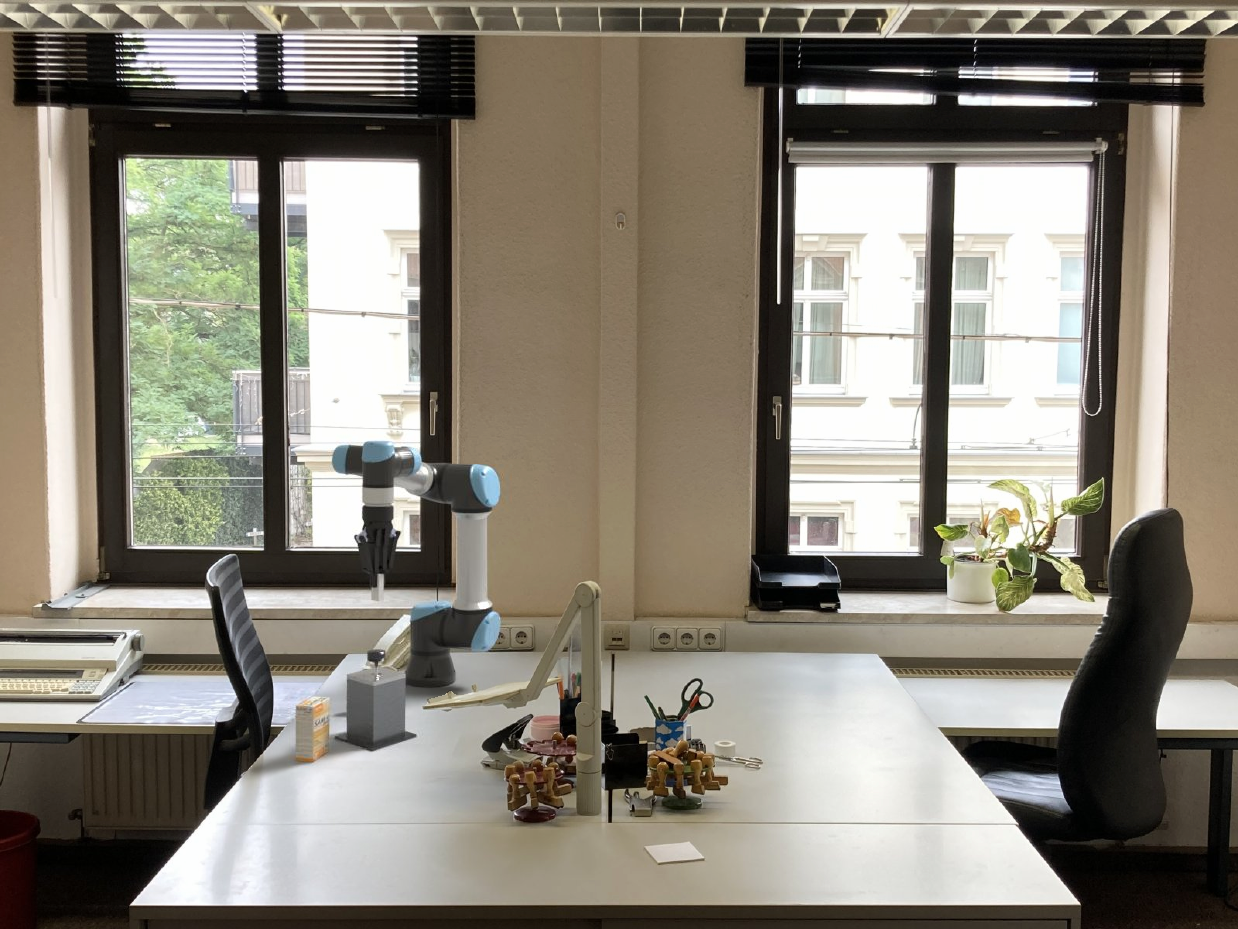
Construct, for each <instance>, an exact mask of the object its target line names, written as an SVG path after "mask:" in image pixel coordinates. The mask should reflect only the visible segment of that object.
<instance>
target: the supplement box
mask: <svg viewBox="0 0 1238 929" xmlns="http://www.w3.org/2000/svg"><path fill="white" fill-rule="evenodd" d="M330 701H331V700H330V697H324V696H311V697H309V698H307V699H305V700H304V701H302V702H300V703H298V704H296V705H295V755H294V756H295V759H294V760H295V761H297V762H298V761H299V762H309V763H313V762H315V761H316V760H317V759H319V758H320V757H322V756H323V755H325V754H326V753H328V752H330V706H331V705H330V704H331V702H330Z"/></svg>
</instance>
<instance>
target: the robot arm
mask: <svg viewBox="0 0 1238 929" xmlns="http://www.w3.org/2000/svg"><path fill="white" fill-rule="evenodd" d="M331 456H332V457H331V464H332V465H331V466H332V467H333V468H332V469H334V471H335V472H336V473H338V474H342V475H346V476H348V475H353V476H358V477H361V478H362V483H361V486H362V487H361V491H362V492H361V495H362V496H361V499H362V500H361V502H362V504H363V505H362V507H361V519H362V521H363V526H362V528H361V529H362V530H361V531H360V533H358V534H354V536H353V539H354V541H355V542H356V544H357V548H358V554H359V559H360V564H361V569H362V572H363V573H366V574H369V587H370V588H371V597H370V598H371V601H375V602H383V601H384V593H385V592H384V589H385V588H384V587H385V586H386V575H387V574H389V573H390V571H391V570H393V567H394V561H395V555H396V552H397V544H398V541H399V538H400V537H401V533H402V532H401V531H400V530H397V529H395V528H394V524H393V520H394V512H395V510H394V508H395V507H394V505H392V504H394V502H395V500H394V498H395V492H394V491H395V488H394V487H398V488H401V489H405V491H406V492H407V493H409V494H410V495H413V496H416V497H419V498H422V499H426V500H428V501H431V502H435V503H440V504H447V505H450V506H451V507H450V508H451V513H452V514H453V515H454V516H455V518H456V573H457V574H456V578H457V579H456V581H457V582H456V583H457V584H456V586H457V589H456V590H457V593H456V594H457V596H456V598H457V599H456V600H454V602H453V603H452V604H451V602H450V601H448V600H435V601H434V600H433V601H427V602H422V603H418V604H415V605H414V606H412V608H411V611H410V620H409V622H410V624H409V625H410V626H409V627H410V630H409V631H410V632H409V634H410V636H409V640H410V641H409V642H410V645H409V646H410V648H409V649H410V650H409V653H410V654H409V658H408V661H407V665H406V669H405V670H404V672H403V673H405V674H406V682H405V684H407V685H409V686H413V687H420V688H434V687H436V688H437V687H442V686H447V685H451V684H454V682H456V680H457V671H456V669H455V666H454V663H453V662H454V661H453V659H452V656H451V649H455V650H456V649H458V650H463V651H470V652H487V651H489V650H491V649H492V648H493V647H494V645H495V643H496V642H497V640H498V637H499V635H500V632H501V631H500V630H501V624H502V622H501V617H500V614H499V613H498V612H496V611H494V610H493V606H494V605H493V604H494V603H493V602H492V601H491V600H490V599H488V516H489V515H490V514H492V512H493V507H495V506H496V505H497V504H498V503H499V501H500V498H499V497H500V496H501V484H500V479H499V477H498V475H497V473H496V471H495V470H494V468H492V466H491V467H490V466H488V465H483V464H475V463H474V464H473V463H451V462H450V463H449V462H435V463H434V462H433V463H432V462H429V463H428V462H427V463H426V462H423V461H422V456H421V454H420V452H419V450H417V449H416V448H414V447H411V446H399V447H398V446H395V445H394V443H393V442H392V441H387V440H367V441H365V442H364V443H363V445H357V444H356V445H355V444H340V445H337V446H336V447H335V448H334V450H333V452H332V455H331Z"/></svg>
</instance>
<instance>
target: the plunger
mask: <svg viewBox="0 0 1238 929" xmlns="http://www.w3.org/2000/svg"><path fill="white" fill-rule="evenodd" d="M386 652H387V651H386V649H369V650H367V652H366V657H367V660H366V661H367V662H372V663H373V665H374V666H373V668H374V675H378V667H379V663H380V662H383V661H385V660H386V659H387V658H386Z"/></svg>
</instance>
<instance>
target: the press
mask: <svg viewBox="0 0 1238 929" xmlns="http://www.w3.org/2000/svg"><path fill="white" fill-rule="evenodd" d="M405 682H406V674H405V673H404V672H401V671H397V670H393V669H390V668H385V667H383V666H378V675H374V667H371V668H366V669H363V670H359V671H355V672H352V673H347V674H346V732H345V733H339V734H337V735H334V739H335V740H338V741H341V742H344V743H347V744H349V745H353V746H355V747H359V748H362V749H364V750H368V751H369V752H373V751H377V750H381V749H384V748H386V747H391V746H393V745H396V744H398V743H402V742H406V741H408V740H411V739H414V738H417V733H414V732H410V731H407V730H406V683H405Z"/></svg>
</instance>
